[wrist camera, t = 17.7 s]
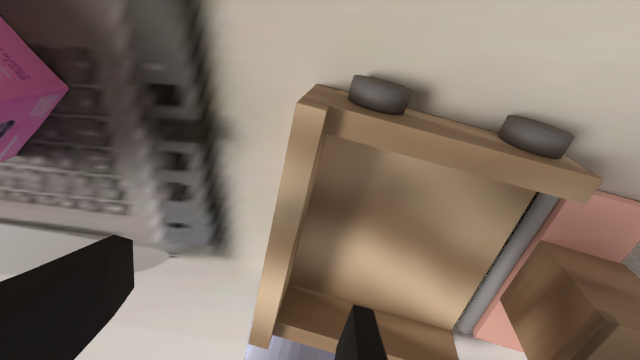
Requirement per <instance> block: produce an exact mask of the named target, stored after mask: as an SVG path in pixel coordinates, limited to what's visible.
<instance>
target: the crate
mask: <svg viewBox="0 0 640 360" xmlns="http://www.w3.org/2000/svg"><path fill="white" fill-rule="evenodd" d="M500 301H501V303H502V306H503V308H504V310H505V312H506V314H507V316H508V318H509V321H510V323H511V325H512V327H513V329H514V331H515V333H516V335H517V338H518V340H519V342H520V344H521V346H522V348H523V350H524V352H525V355H526V357H527V359H528V360H640V279H639V278H638V277H637V276H636V275H635V274H634V273H633V272H632V271H630V270H629V269H628V268H627V267H626V266H625V265H624V264H621V263H617V262H614V261H610V260H607V259H604V258H600V257H597V256H593V255H590V254H587V253H583V252H580V251H577V250H573V249H570V248H566V247H563V246H560V245H556V244H553V243H550V242H546V241H543V240H540V241H539V242H538V244H537V245H536V247H535V248H534V250H533V251H532V253H531V254H530V255H529V257H528V258H527V260H526V261H525V263H524V264H523V266H522V267H521V268H520V270H519V271H518V273H517V274H516V276H515V277H514V279H513V280H512V281H511V283H510V284H509V286H508V287H507V289H506V290H505V291H504V293H503V294H502V296H501V297H500Z"/></svg>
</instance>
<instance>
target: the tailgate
mask: <svg viewBox="0 0 640 360" xmlns="http://www.w3.org/2000/svg"><path fill="white" fill-rule="evenodd" d="M540 240H543V241H546V242H550V243H553V244H556V245H560V246H563V247H566V248H570V249H573V250H577V251H580V252H583V253H587V254H590V255H593V256H597V257H600V258H604V259H607V260H610V261H614V262H617V263H621V262H622V261H623V260H624V259H625V258H626V257H627V255H628V254H629V253H630V252H631V251H632V249H633V248H634V247H635V246H636V245H637V244H638V242H639V241H640V202H638V201H634V200H631V199H627V198H623V197H620V196H616V195H612V194H609V193H605V192H602V191H598V190H596V191H595V193H594V194H593V195H592V197H591V198H590V200H589V201H588V202H587V204H586V205H585V204H581V203H577V202H574V201H570V200H566V199H563V198H559V197H555V196H552V195H548V194H544V193H541V192H539V193H538V195H537V197H536V198H535V200H534V202H533V203H532V205H531V206H530V208H529V210H528V211H527V213H526V214H525V216H524V218H523V219H522V221H521V222H520V224H519V226H518V227H517V229H516V230H515V232H514V234H513V235H512V237H511V238H510V240H509V242H508V243H507V245H506V247H505V248H504V250H503V251H502V253H501V255H500V256H499V258H498V259H497V261H496V263H495V264H494V266H493V267H492V269H491V271H490V272H489V274H488V275H487V277H486V279H485V280H484V282H483V284H482V285H481V287H480V288H479V290H478V292H477V293H476V295H475V296H474V298H473V300H472V301H471V303H470V304H469V306H468V308H467V309H466V311H465V312H464V314H463V316H462V317H461V319H460V321H459V322H458V324H457V328H458V329H459V331H461V332H462V333H463V334H466V335H468V334H470V333H471V331H472V332H473V335H474V338H478V339H481V340H484V341H488V342H491V343H494V344H498V345H501V346H504V347H507V348H511V349H514V350H517V351H521V352H524V350H523V348H522V346H521V344H520V342H519V340H518V338H517V335H516V333H515V331H514V329H513V327H512V325H511V323H510V321H509V318H508V316H507V314H506V312H505V310H504V308H503V306H502V303H501V301H500V297H501V296H502V294H503V293H504V291H505V290H506V289H507V287H508V286H509V284H510V283H511V281H512V280H513V279H514V277H515V276H516V274H517V273H518V271H519V270H520V268H521V267H522V266H523V264H524V263H525V261H526V260H527V258H528V257H529V255H530V254H531V253H532V251H533V250H534V248H535V247H536V245H537V244H538V242H539V241H540ZM524 353H525V352H524Z"/></svg>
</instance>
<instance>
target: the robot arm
mask: <svg viewBox="0 0 640 360" xmlns="http://www.w3.org/2000/svg"><path fill="white" fill-rule="evenodd" d="M133 269H134V267H133V240H131V239H127V238H124V237H120V236H117V235H113V236H110V237H108V238H105V239H103V240H100V241H98V242H95V243H93V244H91V245H89V246H86V247H84V248H81V249H79V250H77V251H74V252H72V253H70V254H68V255H65V256H63V257H60V258H58V259H56V260H53V261H51V262H49V263H46V264H44V265H41V266H39V267H37V268H34V269H32V270H29V271H27V272H25V273H22V274H19V275H17V276H14V277H12V278H9V279H6V280H4V281H1V282H0V360H74V359H75V358H76V357H77V356H78V355H79V354H80V353H81V351H82V350H83V349H84V348H85V347H86V346H87V345H88V344H89V343H90V342H91V341H92V339H93V338H94V337H95V336H96V335H97V334H98V333H99V332H100V331H101V330H102V328H103V327H104V326H105V325H106V324H107V323H108V322H109V321H110V319H111V318H112V317H113V316H114V315H115V313H116V312H117V311H118V309H119V308H120V307H121V305H122V304H123V303H124V301H125V300H126V298H127V297H128V295H129V294H130V293H131V291H132V290H133V288H134V270H133ZM253 317H254V315H253ZM252 322H253V318H252ZM251 327H252V323H251ZM250 332H251V328H250ZM249 337H250V333H249ZM248 342H249V338H248ZM244 360H388V357H387V354H386V351H385V348H384V345H383V342H382V338H381V335H380V331H379V328H378V324H377V321H376V317H375V313H374V311H373V310H372V309H369V308H366V307H362V306H359V305H355V304H353V306H352V308H351V311H350V314H349V316H348V319H347V321H346V324H345V326H344V329H343V331H342V334H341V336H340V339H339V342H338V344H337V347H336V353H332V352H328V351H325V350H321V349H318V348H315V347H311V346H308V345H304V344H301V343H298V342H294V341H291V340H288V339H284V338H281V337H277V336H274V335H272V338H271V341H270V344H269V348H268V350H267V349H264V348H260V347H257V346H253V345H250V344H247V349H246V354H245V359H244Z"/></svg>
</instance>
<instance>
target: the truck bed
mask: <svg viewBox="0 0 640 360" xmlns="http://www.w3.org/2000/svg"><path fill="white" fill-rule="evenodd" d="M411 93H412V91H411V90H409V89H407V88H405V87H402V86H400V85H397V84H394V83H391V82H388V81H384V80H381V79H377V78H372V77H367V76H361V75H354V77H353V80H352V84H351V88H350V91H349V93H347V92H344V91H340V90H336V89H333V88H329V87H325V86H321V85H318V84H316V85H315V86H314V87H313V88H312V89H311V90H310V91H309V92H307V93H306V94H305V95H304V96H303V97H302V98H301V99H300V100H299V101H298V102H297V103H296V108H295V113H294V118H293V123H292V128H291V132H290V137H289V142H288V147H287V152H286V157H285V162H284V167H283V172H282V177H281V182H280V187H279V192H278V197H277V202H276V207H275V212H274V217H273V222H272V227H271V232H270V237H269V242H268V247H267V252H266V257H265V262H264V267H263V272H262V277H261V282H260V287H259V292H258V297H257V302H256V307H255V312H254V317H253V322H252V327H251V332H250V337H249V342H248V344H250V345H253V346H257V347H260V348H264V349H267V350H268V348H269V344H270V341H271V338H272V335H274V336H277V337H281V338H284V339H288V340H291V341H294V342H298V343H301V344H304V345H308V346H311V347H315V348H318V349H321V350H325V351H328V352H332V353H336V347H337V344H338V342H339V339H340V336H341V334H342V331H343V329H344V326H345V324H346V321H347V319H348V316H349V314H350V311H351V308H352V306H353V304H355V305H359V306H362V307H366V308H369V309H372V310H373V311H374V313H375V317H376V321H377V324H378V328H379V331H380V335H381V338H382V342H383V345H384V348H385V351H386V354H387V357H388V360H459V359H458V355H457V351H456V348H455V344H454V340H453V336H452V333H451V330H452V328H453V327H454V325H455V323H456V322H457V320H458V318H459V317H460V315H461V314H462V312H463V310H464V309H465V307H466V305H467V304H468V302H469V301H470V299H471V297H472V296H473V294H474V293H475V291H476V289H477V288H478V286H479V284H480V283H481V281H482V280H483V278H484V276H485V275H486V273H487V271H488V270H489V268H490V267H491V265H492V263H493V262H494V260H495V258H496V257H497V255H498V254H499V252H500V250H501V249H502V247H503V246H504V244H505V242H506V241H507V239H508V237H509V236H510V234H511V233H512V231H513V229H514V228H515V226H516V224H517V223H518V221H519V220H520V218H521V216H522V215H523V213H524V212H525V210H526V208H527V207H528V205H529V203H530V202H531V200H532V199H533V197H534V195H535V194H536V192H541V193H544V194H548V195H552V196H555V197H559V198H563V199H566V200H570V201H574V202H577V203H581V204H585V205H586V204H587V202H588V201H589V200H590V198H591V197H592V195H593V194H594V193H595V191H596V190H597V188H598V187H599V186H600V184H601V183H602V181H603V179H602V178H600V177H598V176H597V175H595V174H594V173H592V172H590V171H589V170H587V169H586V168H584V167H582V166H581V165H579V164H578V163H576V162H574V161H573V160H571V159H570V158H568V157H566V156H565V155H564V153H565V152H566V150H567V148H568V147H569V145H570V144H571V142H572V140H573V139H574V136H573V135H571V134H569V133H567V132H565V131H563V130H560V129H558V128H555V127H552V126H549V125H546V124H543V123H540V122H537V121H534V120H530V119H527V118H523V117H519V116H513V115H508V116H507V118H506V120H505V122H504V124H503V126H502V128H501V130H500V132H499V133H496V132H492V131H489V130H485V129H481V128H478V127H474V126H470V125H466V124H463V123H459V122H455V121H452V120H448V119H444V118H440V117H437V116H433V115H429V114H426V113H422V112H418V111H414V110H411V109H407V108H406V107H407V104H408V101H409V98H410V95H411Z"/></svg>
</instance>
